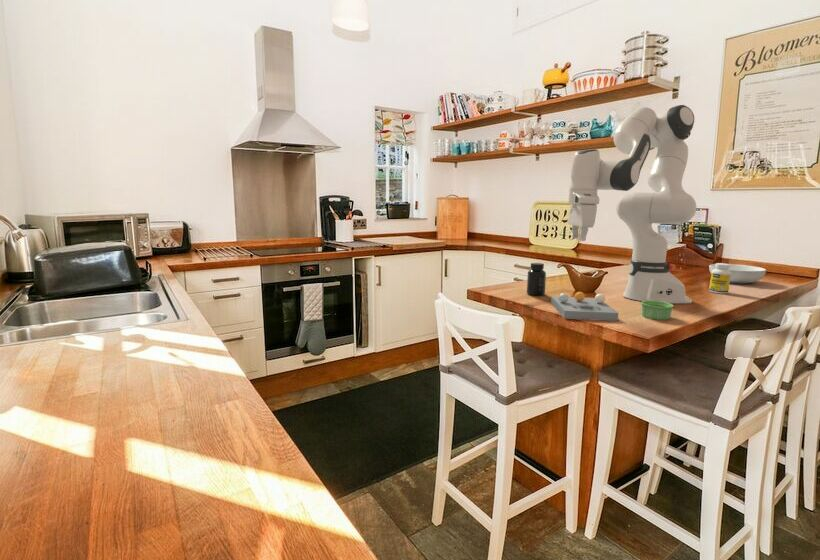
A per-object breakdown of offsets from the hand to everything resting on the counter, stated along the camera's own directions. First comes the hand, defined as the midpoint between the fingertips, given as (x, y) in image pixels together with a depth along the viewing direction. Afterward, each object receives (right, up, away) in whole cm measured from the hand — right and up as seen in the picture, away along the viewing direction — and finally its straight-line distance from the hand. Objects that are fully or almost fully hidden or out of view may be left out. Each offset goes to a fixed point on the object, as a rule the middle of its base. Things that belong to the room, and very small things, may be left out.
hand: (578, 239), depth 153 cm
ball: (-1, -20, -2) cm, 20 cm away
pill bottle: (+67, -19, +27) cm, 75 cm away
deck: (-1, -24, -6) cm, 25 cm away
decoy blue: (-7, -20, -5) cm, 22 cm away
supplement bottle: (-9, -20, +19) cm, 29 cm away
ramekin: (+21, -26, -11) cm, 35 cm away
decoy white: (+5, -20, -5) cm, 21 cm away
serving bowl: (+90, -15, +50) cm, 105 cm away
